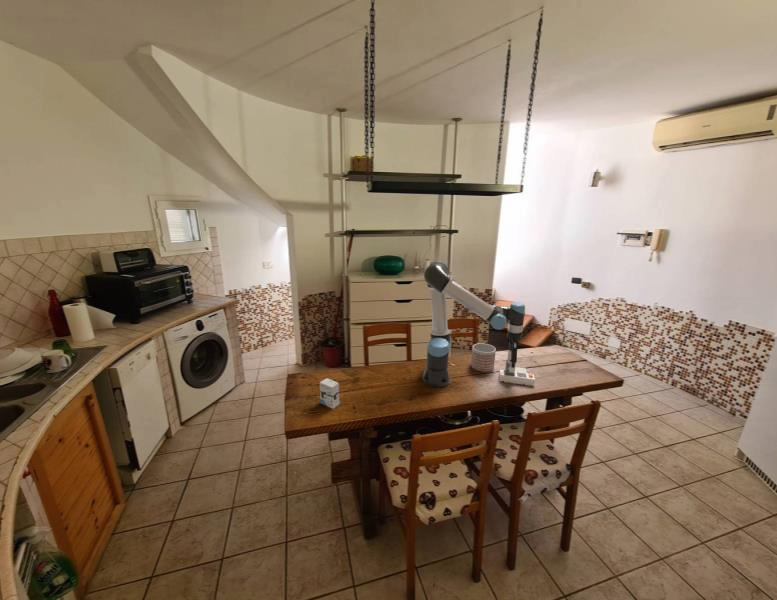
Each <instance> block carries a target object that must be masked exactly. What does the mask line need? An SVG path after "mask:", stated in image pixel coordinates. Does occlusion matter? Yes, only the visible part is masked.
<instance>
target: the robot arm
mask: <svg viewBox="0 0 777 600" xmlns="http://www.w3.org/2000/svg"><path fill="white" fill-rule="evenodd" d="M449 273H450V271H449V267H448V265H447V264H446V263H444V262H443V261H440V260H439V261H438V260H437V261H433V262H431V263H430V264H429V265H428V266H427V267H426V268H425V270H424V273H423V278H424V281H425V282H426V284H427V285H426V287H427V288H428V289H429V290H430V304H431V305H430V306H431V323H432V329H431V330H430V331H429V333H430V334H429V335H430V339H429V341H428V342H427V345H426V349H427V350H426V351H427V352H426V367H425V369H424V372H423V374H422V382H423V383H424V384H425V385H428V386H429V387H433V388H444V387H447V386H448V385H450V382H451V377H450V373H449V369H448V368H449V366H448V365H449V355H450V351H451V347H452V343H453V339H452V336H451V330H450V329H449V328H448V310H447V309H448V307H447V296H449V297H450V298H451V299H453V300H454V301H456V302H458V303H459V304H461V306H464V307H466V309H468V310H470V311H471V312H472V313H474V314H476V315H478V317H480V318H482V319H483V320H485V321H486V322H488V323H489V324H490V326H491V327H492V328H493V329H494V330H503V329H504V328H505V327H506V326H507V334H506V337H507V338H508V339H509V342H508V352H507V360H510V370H509V372H512V373H515V367H517V366H516V364H517V362H518V346H519V342H518V341H520V340H522V337H523V329H524V328H525V325H524V322H525V321H524V320H525V315H526V314H525V313H526V306H525V304H523V303H522V302H511V303H510V305H509V306H507V305H505V306H504V305H495V304H492V305H491V304H489V303H488V302H485V300H483V299H481V298H480V297H478V296H477V295H476V294H474V293H472V292H471V291H469V290H467V289H466V288H464V287H463V286H462V285H460V284H458V283H457V282H456V281H454V280H453V277H451V275H449ZM507 321H508V323H507Z"/></svg>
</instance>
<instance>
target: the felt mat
mask: <svg viewBox="0 0 777 600" xmlns="http://www.w3.org/2000/svg"><path fill="white" fill-rule="evenodd" d="M515 372H522V373H528V371H527V368H525V367H518V366H515Z"/></svg>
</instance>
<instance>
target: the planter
mask: <svg viewBox="0 0 777 600" xmlns="http://www.w3.org/2000/svg"><path fill="white" fill-rule="evenodd" d="M496 351H497V349H496V347H495V346H493V345H491V344H489V343H482V342H479V343H475V344H473V345H472V348H471V357H470V358H471V359H470V367H471V368H472V369H474V370H475V371H478V372H483V373H488V372H491V371H493V370H494V368H495V361H496V353H497V352H496Z"/></svg>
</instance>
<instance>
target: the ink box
mask: <svg viewBox="0 0 777 600" xmlns="http://www.w3.org/2000/svg"><path fill="white" fill-rule="evenodd" d="M319 398H320V399H319V400H320V401H319V402H320V404H322V405H323V406H326V407H328V408H330V409H332V410H334V409H335V408H336V407H338V406H340V383H339V382H338V381H334V380H333V379H330V378H325V379H323V380H320V381H319Z"/></svg>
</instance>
